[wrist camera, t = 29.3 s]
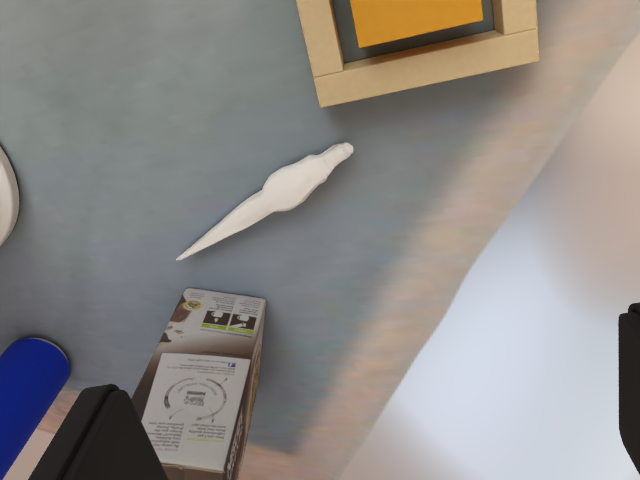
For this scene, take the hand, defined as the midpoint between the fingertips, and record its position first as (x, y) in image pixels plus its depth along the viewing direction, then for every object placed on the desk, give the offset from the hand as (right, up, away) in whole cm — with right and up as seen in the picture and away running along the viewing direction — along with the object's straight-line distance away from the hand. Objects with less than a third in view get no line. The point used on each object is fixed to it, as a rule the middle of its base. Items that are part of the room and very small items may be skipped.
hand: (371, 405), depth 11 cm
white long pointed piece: (-5, +6, +29) cm, 30 cm away
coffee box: (-9, -5, +35) cm, 36 cm away
